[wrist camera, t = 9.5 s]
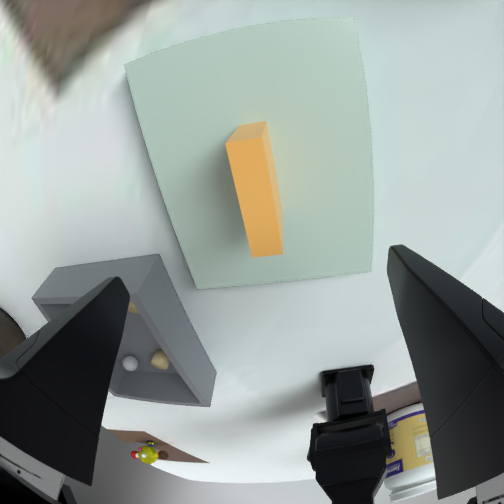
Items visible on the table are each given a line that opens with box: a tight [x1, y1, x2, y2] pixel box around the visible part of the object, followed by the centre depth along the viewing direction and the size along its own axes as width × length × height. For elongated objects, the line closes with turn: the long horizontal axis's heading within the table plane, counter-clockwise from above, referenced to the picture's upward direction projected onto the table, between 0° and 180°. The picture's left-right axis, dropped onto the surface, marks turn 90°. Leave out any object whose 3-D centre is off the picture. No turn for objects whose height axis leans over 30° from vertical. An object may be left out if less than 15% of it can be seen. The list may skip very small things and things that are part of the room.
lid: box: [124, 17, 374, 290], centre depth 16 cm, size 18×14×7 cm
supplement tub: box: [382, 403, 437, 502], centre depth 34 cm, size 12×12×17 cm
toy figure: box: [131, 441, 169, 464], centre depth 56 cm, size 18×6×7 cm, turn 133°
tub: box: [32, 254, 217, 407], centre depth 28 cm, size 18×14×5 cm
